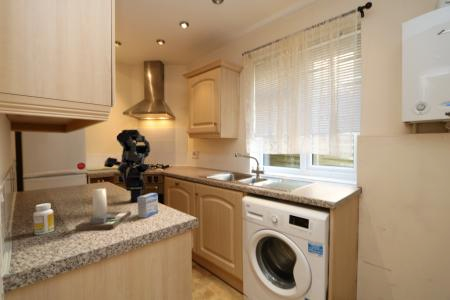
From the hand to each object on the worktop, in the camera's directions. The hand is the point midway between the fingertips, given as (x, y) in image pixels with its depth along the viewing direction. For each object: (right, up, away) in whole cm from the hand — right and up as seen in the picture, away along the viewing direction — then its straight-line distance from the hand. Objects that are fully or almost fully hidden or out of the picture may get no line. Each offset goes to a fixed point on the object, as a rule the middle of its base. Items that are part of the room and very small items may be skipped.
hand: (125, 182), depth 99 cm
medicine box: (+13, -13, -7) cm, 20 cm away
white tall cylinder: (+1, -12, -18) cm, 22 cm away
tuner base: (-1, -13, -15) cm, 20 cm away
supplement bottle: (-18, -14, -23) cm, 33 cm away
